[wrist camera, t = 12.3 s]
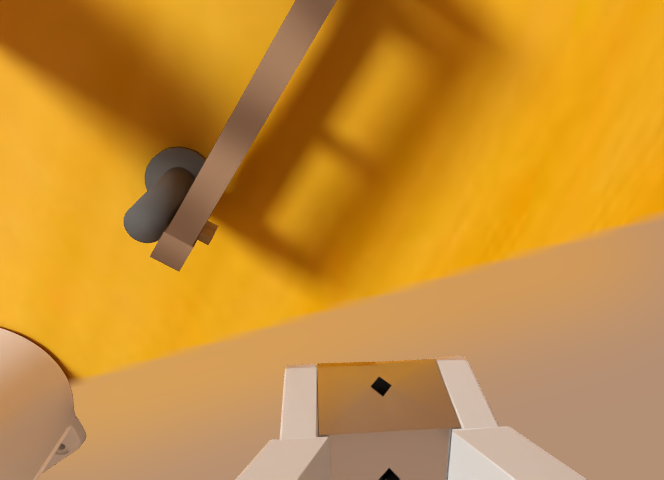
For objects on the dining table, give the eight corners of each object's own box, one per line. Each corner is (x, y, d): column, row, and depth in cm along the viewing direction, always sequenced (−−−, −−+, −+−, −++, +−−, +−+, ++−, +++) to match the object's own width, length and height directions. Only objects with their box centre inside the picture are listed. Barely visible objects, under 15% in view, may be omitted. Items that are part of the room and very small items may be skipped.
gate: (335, -59, 30) (346, -95, 21) (369, -33, 30) (393, -57, 22) (188, 201, 36) (149, 256, 27) (219, 218, 37) (191, 277, 28)
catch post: (189, 223, 38) (156, 277, 30) (134, 182, 36) (83, 227, 28) (229, 177, 36) (205, 221, 28) (173, 132, 35) (132, 165, 27)
